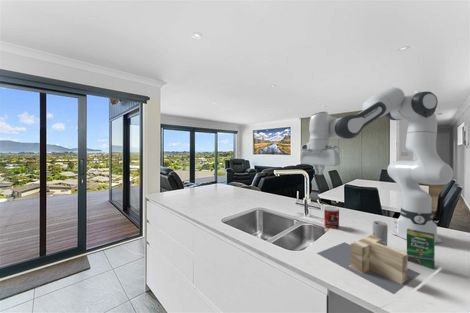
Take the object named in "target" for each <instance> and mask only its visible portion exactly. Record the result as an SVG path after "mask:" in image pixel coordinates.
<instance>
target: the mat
mask: <svg viewBox="0 0 470 313" xmlns="http://www.w3.org/2000/svg"><path fill="white" fill-rule="evenodd" d="M316 254H317V255H319V256H321V257H323V259H327V260H329V261H330V262H333V263H334V264H336V265H338V266H340V267H342V268H343V269H345V270H347V271H349V272H350V273H353V274H355V276H359V277H361V278H362V279H364V280H366V281H368V282H370V283H372V284H374V285H375V286H377V287H380V288H381V289H383V290H385V291H387V292H389V293H390V294H392V295H395V294H397V293H398V292H399V291H400V290H402V288H404V287H405V286H406V285H408V284H409V283H410V282H412V281H413V280H414V279H416V277H418V276H419V275H421V273H420V272H417V271H415V270H412V269H410V268H408V269H407V281H405V282H404V283H403V284H401V283H399V282H397V281H394V280H392V279H390V278H388V277H386V276H384V275H382V274H380V273H378V272H376V271H374V270H371V269H367V270H366V271H364V272H360V271H358V270H356V269H354V268H352V267H351V243H350V244H349V243H347V242H342V243H339V244H337V245H334V246H332V247H329V248H326V249H324V250H322V251H319V252H317V253H316Z"/></svg>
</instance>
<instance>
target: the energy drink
mask: <svg viewBox="0 0 470 313" xmlns="http://www.w3.org/2000/svg"><path fill="white" fill-rule="evenodd" d="M388 227H389V225H388V224H387V223H386V222H384V221H380V220H379V221H378V220H375V221H373V222H372V236H374V237H377V238H380V239H382V245H384V246H387V247H388V230H389V229H388Z"/></svg>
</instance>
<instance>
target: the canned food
mask: <svg viewBox="0 0 470 313" xmlns="http://www.w3.org/2000/svg"><path fill="white" fill-rule="evenodd" d="M323 214H324V217H323V218H324V219H323V220H324V223H323V224H324V225H323V226H324V227H325V228H326V229H329V230H330V229H333V230H334V229H335V230H338V229H339V227H340V209H339V208H338V207H336V206H325V207H324V213H323Z"/></svg>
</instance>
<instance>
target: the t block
mask: <svg viewBox="0 0 470 313" xmlns="http://www.w3.org/2000/svg"><path fill="white" fill-rule="evenodd" d="M350 245H351V267H352V268H354V269H356V270H358V271H360V272H364V271H366V270H367V269H371V270H374V271H376V272H378V273H380V274H382V275H384V276H386V277H388V278H390V279H392V280H394V281H397V282H399V283H401V284H403V283H404V282H405V281H407V269H409V268H408V264H409V263H408V262H409V261H408V254H407V252H404V251H400V250H399V249H395V248H392V247H389V246H388V245H387V246H384V245H382V239H380V238H377V237H374V236H373V235H369V236H367V237H363V238H361V239H359V240H356V241H354V242H351V243H350Z"/></svg>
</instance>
